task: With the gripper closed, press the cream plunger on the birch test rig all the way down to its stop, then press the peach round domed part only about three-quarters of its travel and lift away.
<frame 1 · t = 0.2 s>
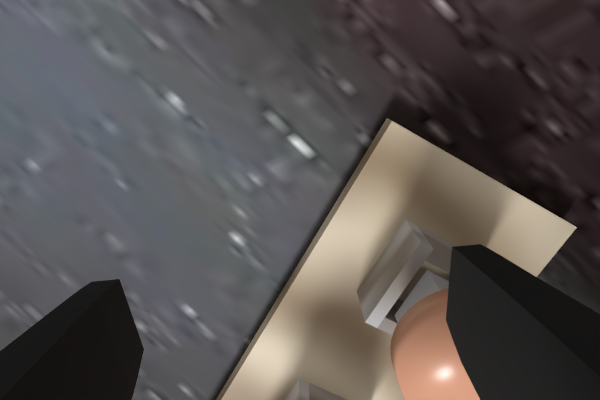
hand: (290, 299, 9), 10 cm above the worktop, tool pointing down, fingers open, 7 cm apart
test rig: (359, 340, 22), on the worktop
peach round domed part: (450, 333, 16), point 5 cm above the worktop, slide at 0.0 cm
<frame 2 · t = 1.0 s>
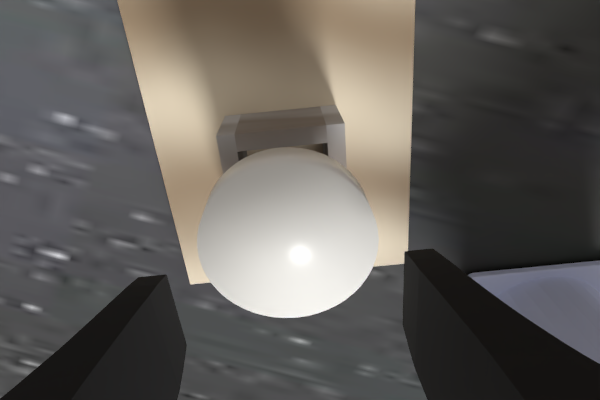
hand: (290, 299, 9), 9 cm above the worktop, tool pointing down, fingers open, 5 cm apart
test rig: (271, 25, 15), on the worktop
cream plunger: (287, 214, 13), point 5 cm above the worktop, slide at 0.0 cm
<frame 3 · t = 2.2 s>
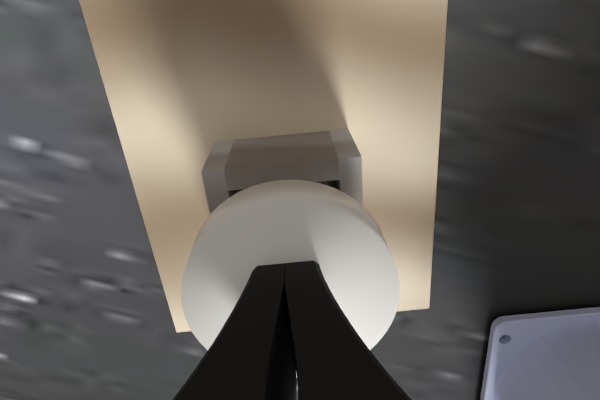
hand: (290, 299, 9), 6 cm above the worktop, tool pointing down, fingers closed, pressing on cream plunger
test rig: (271, 33, 13), on the worktop
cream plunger: (289, 253, 11), point 5 cm above the worktop, slide at 0.9 cm, touching gripper
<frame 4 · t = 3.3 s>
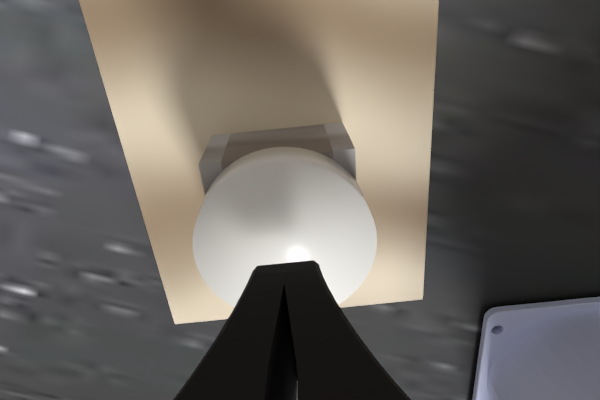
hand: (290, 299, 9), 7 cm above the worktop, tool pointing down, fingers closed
test rig: (266, 29, 13), on the worktop
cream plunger: (284, 214, 13), point 3 cm above the worktop, slide at 2.5 cm
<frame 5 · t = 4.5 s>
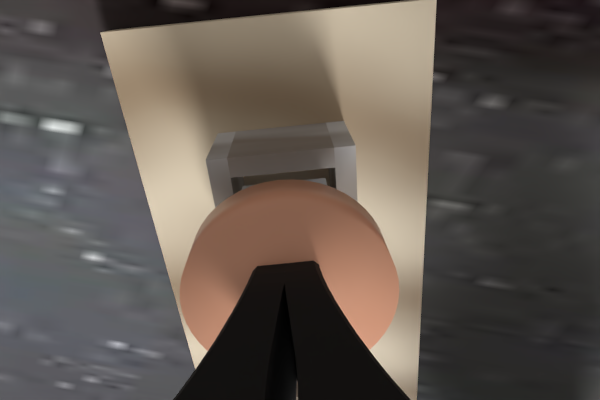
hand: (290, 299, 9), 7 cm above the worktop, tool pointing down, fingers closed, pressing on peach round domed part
test rig: (299, 280, 18), on the worktop
peach round domed part: (289, 253, 11), point 5 cm above the worktop, slide at 0.0 cm, touching gripper
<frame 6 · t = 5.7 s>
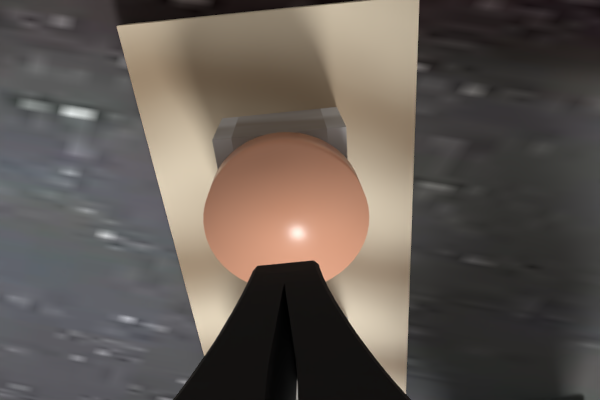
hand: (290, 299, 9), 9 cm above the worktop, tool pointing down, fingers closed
test rig: (296, 258, 19), on the worktop
peach round domed part: (286, 195, 14), point 4 cm above the worktop, slide at 1.7 cm
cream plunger: (309, 385, 19), point 3 cm above the worktop, slide at 2.5 cm
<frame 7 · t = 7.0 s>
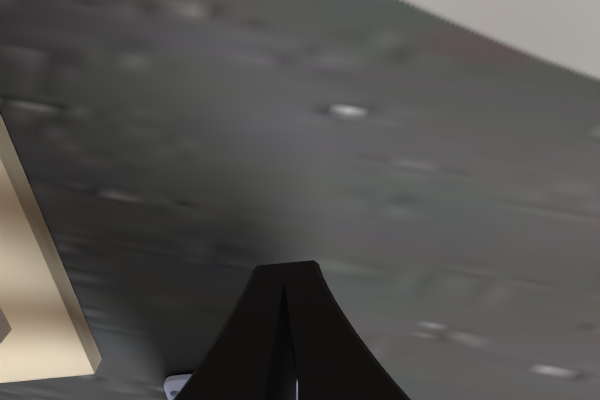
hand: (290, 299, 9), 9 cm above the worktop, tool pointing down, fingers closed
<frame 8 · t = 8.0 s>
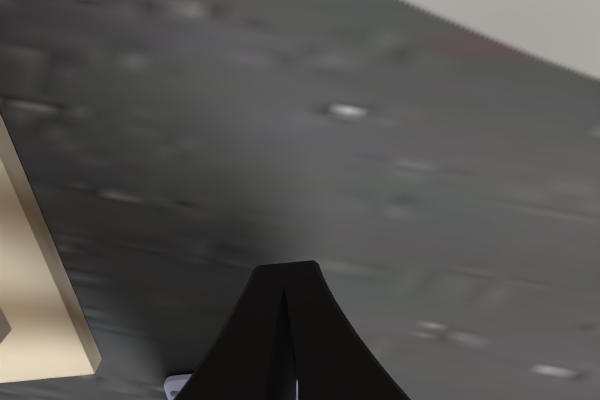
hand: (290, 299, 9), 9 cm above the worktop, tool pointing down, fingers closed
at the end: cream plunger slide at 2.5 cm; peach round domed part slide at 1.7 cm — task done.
